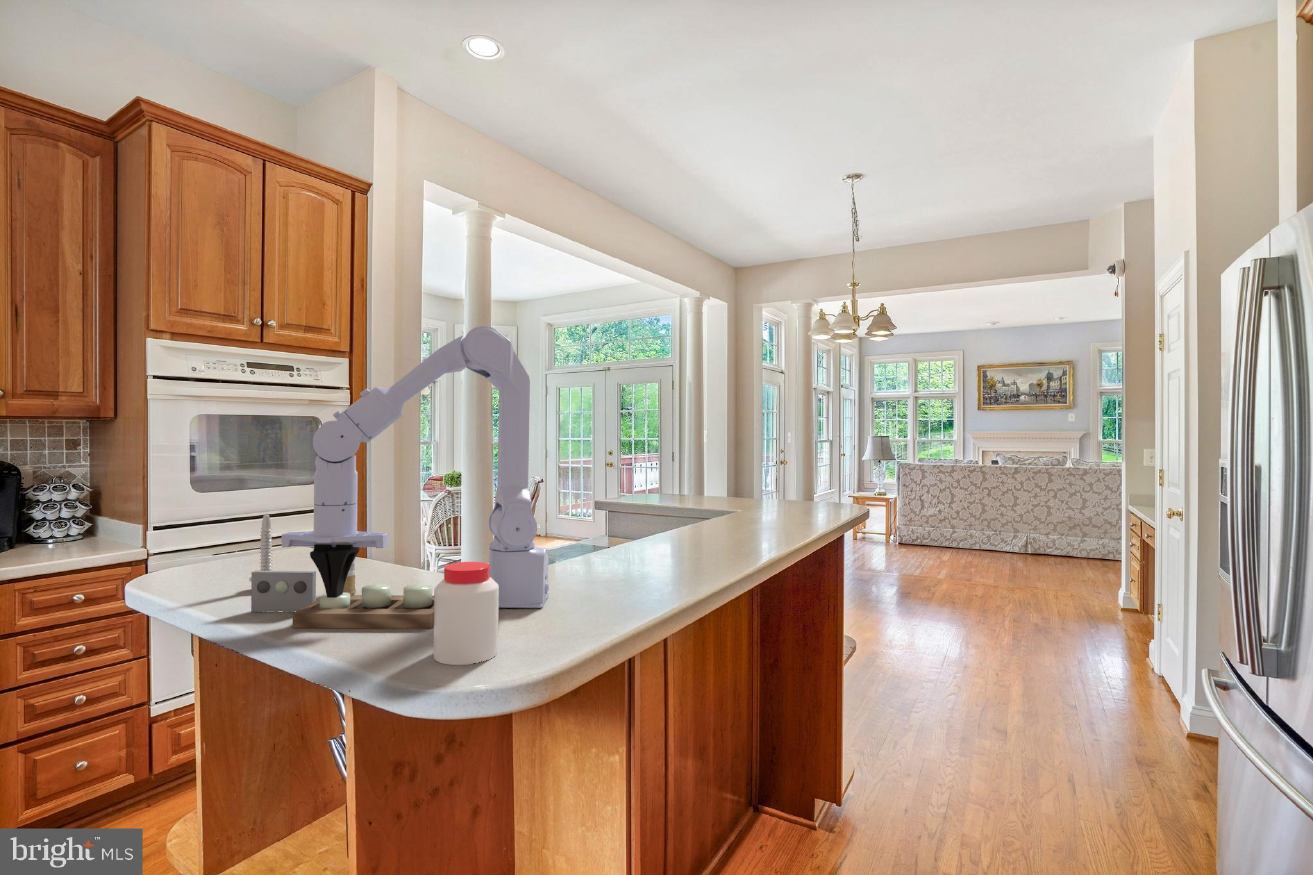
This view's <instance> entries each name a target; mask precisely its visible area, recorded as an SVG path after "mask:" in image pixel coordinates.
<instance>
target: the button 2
mask: <svg viewBox="0 0 1313 875" xmlns="http://www.w3.org/2000/svg"><path fill="white" fill-rule="evenodd" d="M432 596H433V585H432V584H428V583H427V584H424V583H421V584H420V583H417V584H411V585H407V586H404V587H403V606H404V607H406V608H422V607H427V606H430V605H432Z"/></svg>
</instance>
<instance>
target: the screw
mask: <svg viewBox="0 0 1313 875" xmlns="http://www.w3.org/2000/svg"><path fill="white" fill-rule="evenodd" d="M261 522H262V523H261V527H260V529H261V530H260V535H259V537H260V541H259V544H260V546H259V547H260V549H259V551H260V552H259V554H260V555H259V557H260V559H259V560H260V562H259V564H260V566H259V568H260V569H259V571H273V570H272V569H273V566H272V565H273V563H272V561H273V560H272V558H273V556H272V555H273V553H272V551H273V549H272V548H273V546H272V545H273V542H272V541H273V538H272V537H273V535H272V534H273V532H272V530H273V529H272V527H271V526H272V524H271V523H272V522H271V516H270V514H268V513H265V514H264V515H263V516H262V520H261ZM251 580H252V575H251V576H250V577H249V578H248V581H249V582H250V583H251Z"/></svg>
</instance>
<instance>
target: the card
mask: <svg viewBox="0 0 1313 875" xmlns="http://www.w3.org/2000/svg"><path fill="white" fill-rule="evenodd" d="M251 576H252V580H251V582H250V583H251V589H250V590H251V591H250V592H251V595H250V598H251V599H250V600H251V601H250V602H251V603H250V605H251V606H250V608H251V613H268V612H267V611H298V610H300V609H302V608H304V607H306V606H307V605H309V604H311V603H313V602H315V601H317V600H316V599H317V589H316V588H317V571H316V570H272V571H260V570H253V571H251ZM263 611H264V612H263Z"/></svg>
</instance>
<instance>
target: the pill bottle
mask: <svg viewBox="0 0 1313 875" xmlns="http://www.w3.org/2000/svg"><path fill="white" fill-rule="evenodd" d="M433 596H434V626H433V653H432V654H433V657H432V658H433V659H434V660H435V661H437V662H438V663H441V664H443V665H447V666H448V665H449V666H467V665H468V666H469V665H474V664H473V663H476V664H480V663H483V661H484V662H486V660H487V661H489V660H492V659H493V658H495V657H496V656H497V655H498V653H499V625H500V624H499V620H500V618H499V617H500V616H499V614H500V611H499V609H500V608H499V585H498V583H497V582H495V581H494V580H493V579H492V578H491V577H490V565H489V563H488V562H487V563H486V562H482V561H461V562H453V563H450V564H449V563H448V564H447V565H445V566H444V567H443V579H442V580H441V581H439V582H438V584H437V585H436V586H434V590H433ZM494 656H495V657H494ZM491 658H492V659H491ZM481 661H482V662H481ZM479 662H480V663H479Z"/></svg>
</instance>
